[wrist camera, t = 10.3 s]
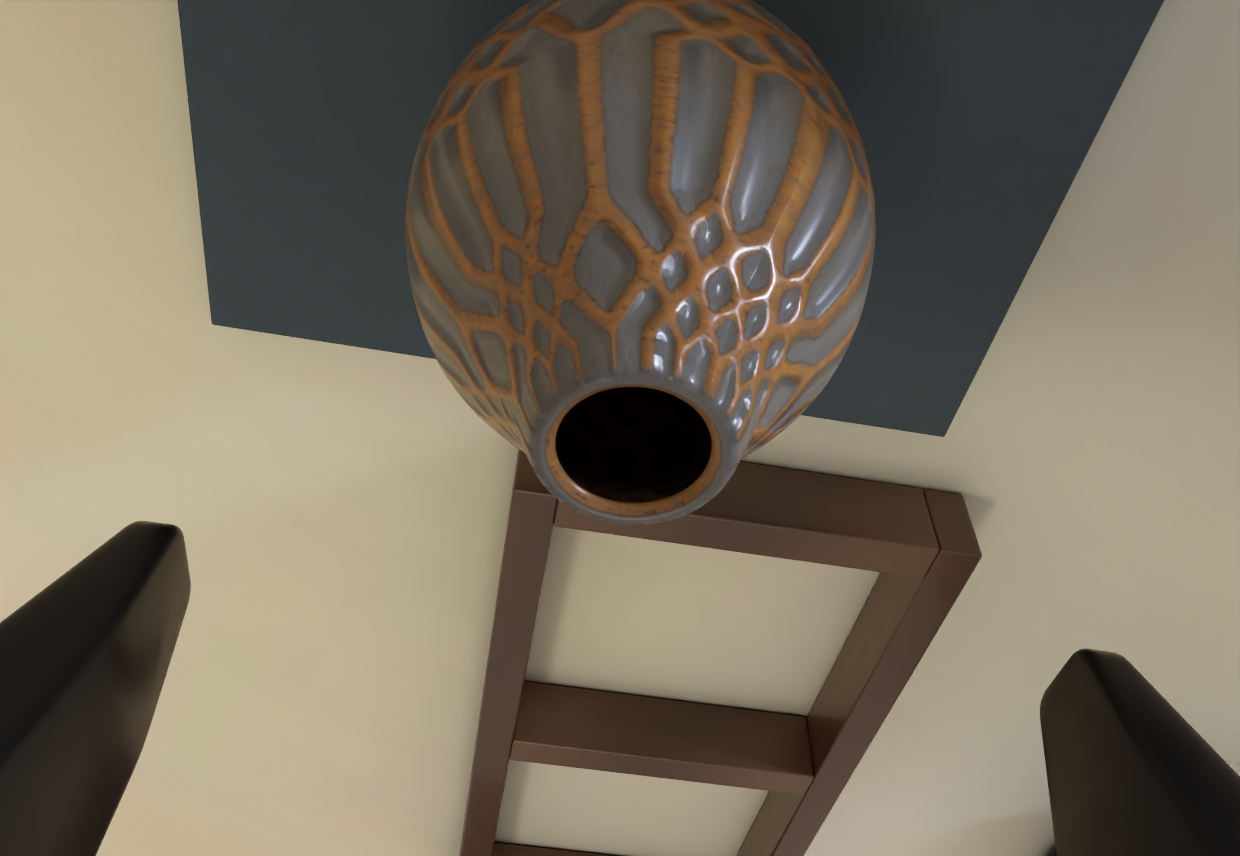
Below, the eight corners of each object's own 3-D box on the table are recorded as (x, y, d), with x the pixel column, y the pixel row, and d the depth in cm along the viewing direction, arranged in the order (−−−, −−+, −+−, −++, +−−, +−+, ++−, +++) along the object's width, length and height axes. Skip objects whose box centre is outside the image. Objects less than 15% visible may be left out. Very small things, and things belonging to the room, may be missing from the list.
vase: (374, 145, 19) (216, 472, 12) (620, -186, 15) (589, 13, 8) (657, 349, 21) (658, 708, 15) (921, 109, 18) (1077, 437, 11)
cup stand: (963, 493, 24) (1048, 755, 19) (743, 896, 38) (757, 1114, 33) (521, 428, 23) (482, 684, 18) (458, 864, 37) (425, 1084, 32)
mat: (1237, -172, 15) (1249, -166, 15) (940, 426, 23) (944, 437, 23) (144, -408, 14) (133, -406, 14) (217, 314, 22) (211, 324, 21)
